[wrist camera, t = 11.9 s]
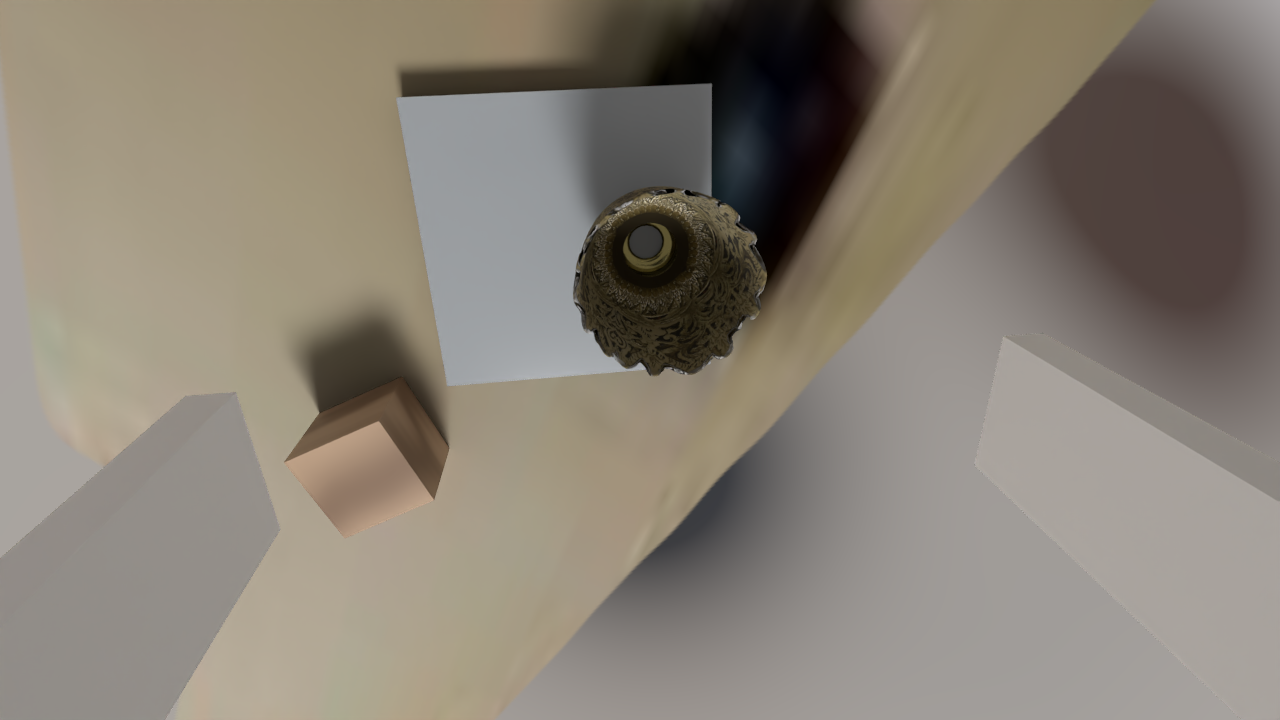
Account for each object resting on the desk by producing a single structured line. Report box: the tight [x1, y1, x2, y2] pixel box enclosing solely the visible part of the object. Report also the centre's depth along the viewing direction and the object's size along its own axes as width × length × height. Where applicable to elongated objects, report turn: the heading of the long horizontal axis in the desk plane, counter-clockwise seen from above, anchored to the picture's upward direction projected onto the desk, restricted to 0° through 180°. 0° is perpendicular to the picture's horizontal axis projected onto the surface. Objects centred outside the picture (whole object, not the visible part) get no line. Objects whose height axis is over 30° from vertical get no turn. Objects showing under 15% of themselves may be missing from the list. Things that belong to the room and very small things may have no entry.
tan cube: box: [284, 377, 449, 538], centre depth 33 cm, size 5×5×5 cm
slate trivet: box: [396, 84, 712, 386], centre depth 32 cm, size 14×14×1 cm
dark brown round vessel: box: [573, 186, 767, 376], centre depth 28 cm, size 8×7×8 cm
